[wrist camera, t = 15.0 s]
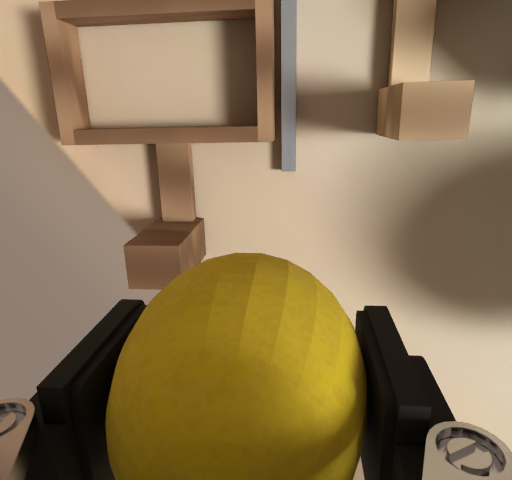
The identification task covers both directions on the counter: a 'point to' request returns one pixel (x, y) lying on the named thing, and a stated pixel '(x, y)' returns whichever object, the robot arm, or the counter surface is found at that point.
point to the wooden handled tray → (166, 138)
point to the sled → (420, 83)
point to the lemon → (239, 379)
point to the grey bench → (288, 84)
